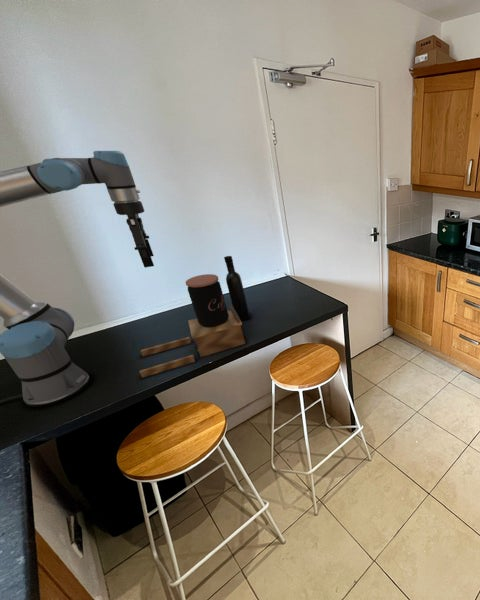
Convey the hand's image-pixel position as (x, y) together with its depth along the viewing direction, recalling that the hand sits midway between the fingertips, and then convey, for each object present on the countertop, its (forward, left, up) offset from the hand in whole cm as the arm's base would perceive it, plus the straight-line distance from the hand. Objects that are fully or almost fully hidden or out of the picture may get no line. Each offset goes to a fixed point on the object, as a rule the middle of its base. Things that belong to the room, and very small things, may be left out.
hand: (149, 261), depth 114 cm
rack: (+5, -12, -35) cm, 37 cm away
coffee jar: (+14, -12, -25) cm, 31 cm away
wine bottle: (+26, +5, -35) cm, 44 cm away
